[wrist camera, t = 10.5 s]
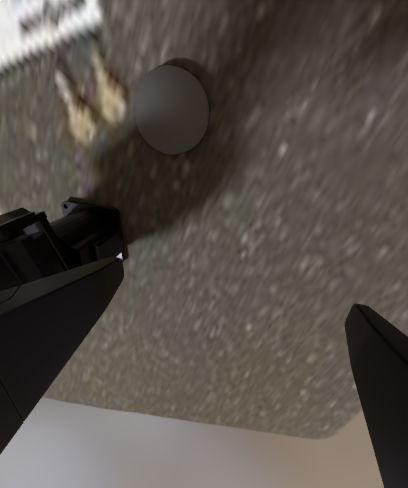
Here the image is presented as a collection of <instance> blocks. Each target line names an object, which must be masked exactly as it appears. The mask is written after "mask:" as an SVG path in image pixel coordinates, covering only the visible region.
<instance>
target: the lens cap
mask: <svg viewBox="0 0 408 488" xmlns="http://www.w3.org/2000/svg"><path fill="white" fill-rule="evenodd" d="M134 115H135V120H136V124H137V127H138V129H139V131H140V133H141V135H142V136H143V138H144V139H145V141H146V142H147V143H148V144H149V145H150V146H152V147H153V148H154V149H156V150H158V151H160V152H162V153H165V154H180V153H183V152H186V151H189V150H191V149H192V148H194V147H195V146H196V145H197V144H198V143H199V142H200V141H201V139H202V138H203V136H204V134H205V133H206V130H207V127H208V123H209V116H210V109H209V102H208V98H207V95H206V92H205V90H204V88H203V87H202V85H201V83H200V82H199V81H198V80H197V79H196V78H195V77H194V76H193V75H192V74H190V73H189V72H187V71H186V70H184V69H182V68H180V67H177V66H172V65H164V66H160V67H157V68H155V69H153V70H151V71H150V72H149V73H148V74H146V76H145V77H144V78H143V79H142V81H141V82H140V84H139V86H138V88H137V91H136V94H135V99H134Z"/></svg>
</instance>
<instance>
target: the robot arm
mask: <svg viewBox="0 0 408 488" xmlns="http://www.w3.org/2000/svg"><path fill="white" fill-rule="evenodd" d="M67 206H68V207H67ZM62 210H63V214H64V217H62V218H60V219H58V220H56V221H54V222H51V223H49V222H48V220H47V218H46V217H47V216H46V214H45V212H44V211H42V212H39V213H35V212H29V211H28V210H26V209H24V208H20V209H17V210H14V211H11V212H8V213H5V214H2V215H0V454H1V453H2V451H3V450H4V448H5V447H6V446H7V445H8V443H9V442H10V440H11V439H12V438H13V436H14V435H15V434H16V432H17V430H18V429H19V428H20V427H21V425H22V424H23V421H25V419H26V418H27V417H28V415H29V414H30V412H31V411H32V410H33V409H34V407H35V406H36V404H37V403H38V402H39V400H40V399H41V398H42V396H43V395H44V393H45V392H46V391H47V389H48V388H49V387H50V385H51V384H52V382H53V381H54V380H55V378H56V377H57V376H58V374H59V373H60V371H61V370H62V369H63V367H64V366H65V365H66V363H67V362H68V360H69V359H70V358H71V356H72V355H73V354H74V352H75V351H76V350H77V348H78V347H79V345H80V344H81V343H82V341H83V340H84V339H85V337H86V336H87V334H88V333H89V332H90V330H91V329H92V328H93V326H94V325H95V323H96V322H97V321H98V319H99V318H100V317H101V315H102V314H103V312H104V311H105V309H106V308H107V306H108V305H109V303H110V301H111V300H112V298H113V296H114V294H115V293H116V291H117V289H118V287H119V286H120V284H121V282H122V281H123V278H124V268H123V262H124V245H123V236H122V230H121V224H120V215H119V211H118V210H117V209H116V208H112V207H105V206H99V205H92V204H85V203H79V202H72V201H64V202H62ZM113 212H114V213H115V215H114V214H113ZM345 331H346V337H347V344H348V350H349V357H350V363H351V368H352V372H353V376H354V380H355V383H356V387H357V391H358V394H359V398H360V402H361V405H362V409H363V412H364V416H365V420H366V423H367V427H368V430H369V434H370V438H371V442H372V445H373V449H374V452H375V456H376V459H377V463H378V467H379V471H380V474H381V478H382V481H383V485H384V488H408V337H407V336H406V335H405V334H404V333H402V332H401V331H400V330H398V329H397V328H396V327H395V326H393V325H392V324H391V323H389V322H388V321H387V320H386V319H384V318H383V317H382V316H380V315H379V314H378V313H377V312H375V311H374V310H373V309H371V308H370V307H369V306H366V305H361V304H354V305H353V306H352V308H351V310H350V312H349V314H348V316H347V318H346V321H345Z"/></svg>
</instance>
